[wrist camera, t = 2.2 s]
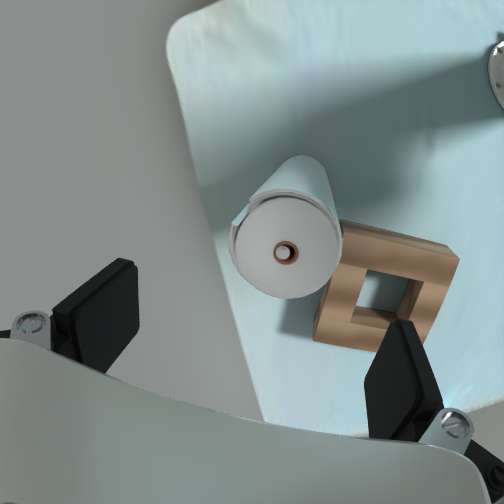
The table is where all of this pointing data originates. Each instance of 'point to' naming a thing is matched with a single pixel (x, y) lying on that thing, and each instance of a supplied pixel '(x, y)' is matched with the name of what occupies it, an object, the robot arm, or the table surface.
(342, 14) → the table surface
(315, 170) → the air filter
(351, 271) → the socket block
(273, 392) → the table surface
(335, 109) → the table surface
